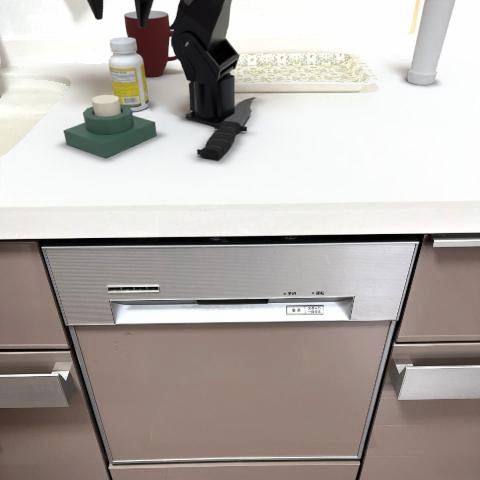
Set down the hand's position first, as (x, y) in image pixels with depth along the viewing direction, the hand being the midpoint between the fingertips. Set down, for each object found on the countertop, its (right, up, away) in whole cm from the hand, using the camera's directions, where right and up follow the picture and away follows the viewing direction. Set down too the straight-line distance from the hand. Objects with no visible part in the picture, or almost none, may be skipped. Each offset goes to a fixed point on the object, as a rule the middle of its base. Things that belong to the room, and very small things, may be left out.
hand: (120, 23), depth 71 cm
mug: (+2, +4, +22) cm, 23 cm away
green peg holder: (0, -19, -3) cm, 19 cm away
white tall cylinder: (+53, +1, +20) cm, 56 cm away
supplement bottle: (0, -9, +8) cm, 12 cm away
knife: (+17, -15, +2) cm, 23 cm away
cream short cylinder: (0, -16, -5) cm, 17 cm away
